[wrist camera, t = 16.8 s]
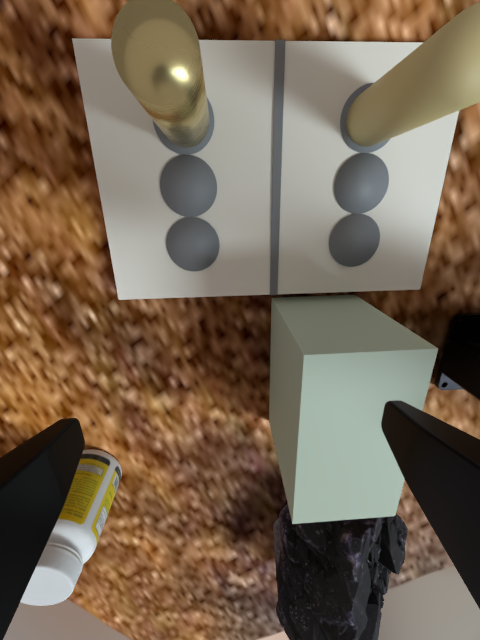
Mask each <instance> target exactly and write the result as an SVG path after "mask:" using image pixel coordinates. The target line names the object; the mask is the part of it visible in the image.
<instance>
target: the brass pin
mask: <svg viewBox="0 0 480 640" xmlns="http://www.w3.org/2000/svg"><path fill="white" fill-rule="evenodd" d="M111 49H112V56H113V60H114V63H115V67H116V69H117V71H118V74H119V76H120V77H121V79H122V81H123V82H124V84H125V85H126V86H127V88H128V89H129V90H130V91H131V93H132V94H133V95H134V97H135V98H136V99H137V100H138V102H139V103H140V104H141V105H142V107H143V108H144V109H145V110H146V112H147V113H148V114H149V116H150V117H151V118H152V119H153V121H154V122H155V123H156V124H157V126H158V127H159V128H160V130H161V131H162V132H163V133H164V135H165V136H166V137H167V138H168V139H169V141H171V142H172V143H173V144H175V145H177V146H179V147H183V148H190V147H194V146H196V145H198V144H199V143H201V142H202V141H203V139H204V138H205V136H206V135H207V132H208V129H209V123H210V118H209V111H208V103H207V96H206V89H205V81H204V74H203V66H202V59H201V52H200V44H199V40H198V36H197V33H196V30H195V28H194V26H193V23H192V22H191V20H190V18H189V17H188V15H187V14H186V13H185V11H184V10H183V9H182V8H181V7H180V6H179V5H178V4H176V3H175V2H174V1H172V0H129V1H128V2H127V3H126V4H125V5H124V6H123V7H122V8H121V10H120V11H119V13H118V15H117V17H116V19H115V22H114V25H113V29H112V36H111Z"/></svg>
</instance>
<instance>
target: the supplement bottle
mask: <svg viewBox="0 0 480 640" xmlns="http://www.w3.org/2000/svg"><path fill="white" fill-rule="evenodd" d="M121 476H122V469H121V466H120V464H119V462H118V461H117V460H116V459H115V458H114V457H113V456H111V455H110V454H108V453H106V452H104V451H101V450H95V449H88V450H83V453H82V456H81V459H80V462H79V465H78V467H77V470H76V473H75V476H74V479H73V482H72V485H71V488H70V491H69V493H68V496H67V499H66V502H65V504H64V507H63V509H62V511H61V513H60V516H59V518H58V520H57V522H56V524H55V527H54V529H53V531H52V533H51V535H50V538H49V540H48V542H47V544H46V546H45V548H44V551H43V553H42V555H41V557H40V559H39V562H38V564H37V566H36V568H35V570H34V573H33V575H32V577H31V579H30V581H29V583H28V586H27V588H26V590H25V592H24V594H23V597H22V599H21V601H20V602H22V603H25V604H29V605H39V606H45V605H52V604H56V603H59V602H62V601H64V600H65V599H67V598H68V597H69V596H70V595H71V593H72V592H73V590H74V587H75V585H76V582H77V580H78V578H79V575H80V573H81V570H82V567H83V564H84V563H85V562H86V561H87V560H88V559H89V558H90V557H91V556H92V554H93V552H94V550H95V548H96V546H97V543H98V540H99V537H100V534H101V532H102V529H103V526H104V523H105V521H106V518H107V515H108V512H109V510H110V507H111V504H112V501H113V499H114V496H115V493H116V490H117V488H118V485H119V482H120V479H121Z"/></svg>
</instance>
